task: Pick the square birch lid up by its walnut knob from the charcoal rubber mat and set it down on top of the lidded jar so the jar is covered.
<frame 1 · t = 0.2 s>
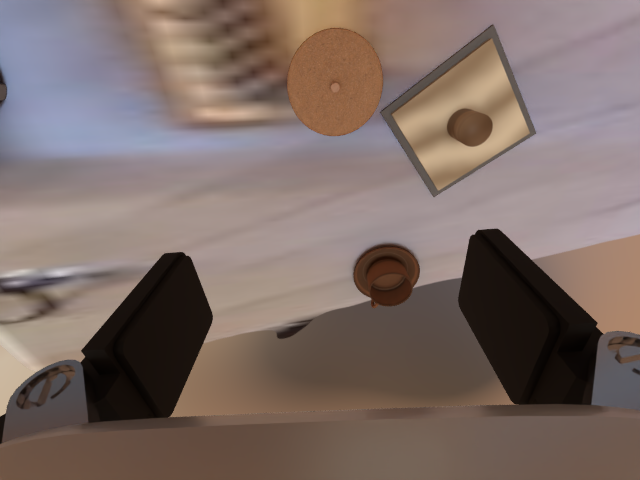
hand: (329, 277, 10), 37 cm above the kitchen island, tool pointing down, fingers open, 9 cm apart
rubber mat: (458, 122, 42), on the kitchen island
cup and saucer: (384, 268, 56), on the kitchen island
lidded jar: (333, 82, 40), on the kitchen island
birch lid: (459, 123, 42), resting on rubber mat
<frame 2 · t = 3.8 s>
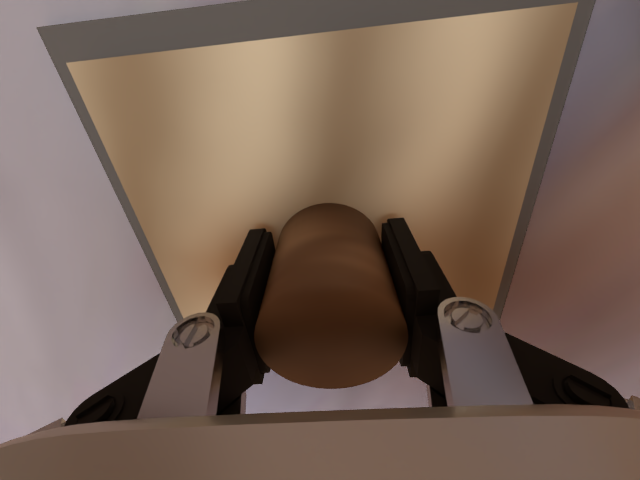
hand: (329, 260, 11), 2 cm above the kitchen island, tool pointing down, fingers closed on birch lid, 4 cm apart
rubber mat: (328, 234, 13), on the kitchen island
birch lid: (328, 239, 12), resting on rubber mat, touching gripper
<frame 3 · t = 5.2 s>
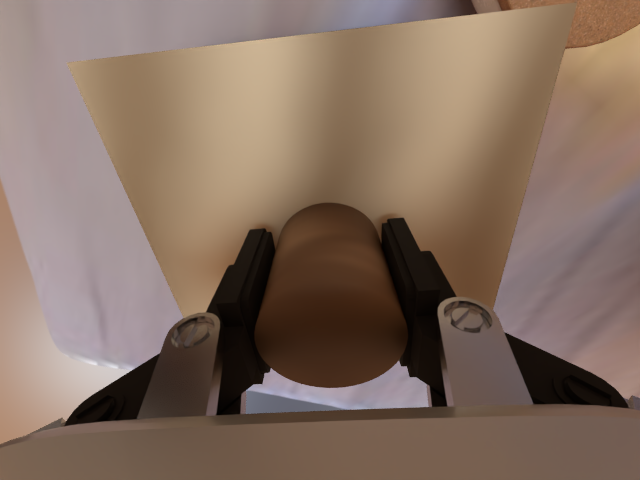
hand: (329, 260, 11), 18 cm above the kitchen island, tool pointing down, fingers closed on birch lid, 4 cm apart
birch lid: (328, 239, 12), point 16 cm above the kitchen island, touching gripper
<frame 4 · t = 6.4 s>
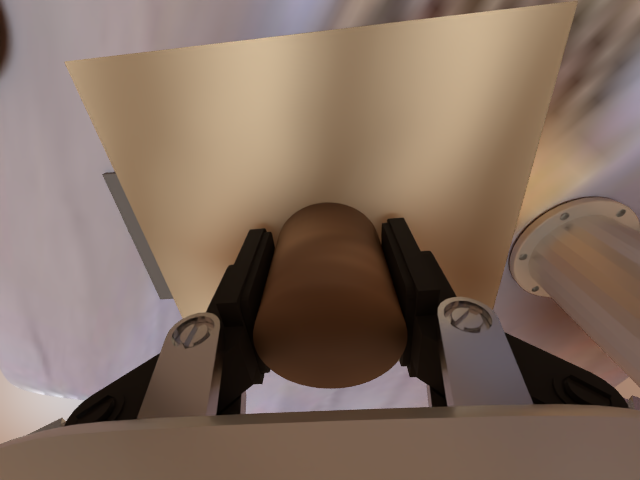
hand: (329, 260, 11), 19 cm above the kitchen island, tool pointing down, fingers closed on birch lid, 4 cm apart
rubber mat: (207, 238, 33), on the kitchen island
birch lid: (328, 239, 12), point 17 cm above the kitchen island, touching gripper
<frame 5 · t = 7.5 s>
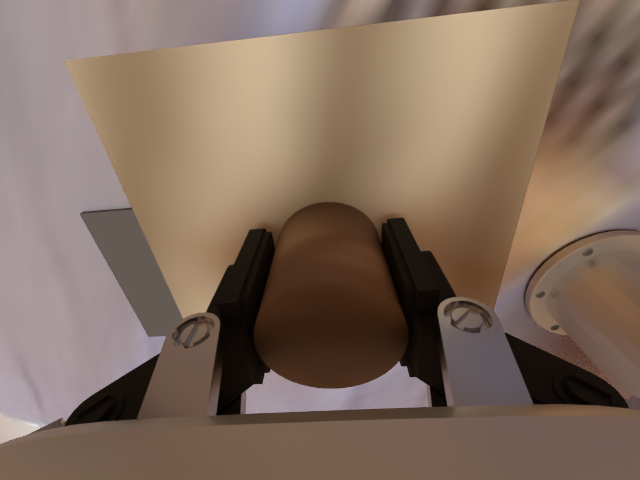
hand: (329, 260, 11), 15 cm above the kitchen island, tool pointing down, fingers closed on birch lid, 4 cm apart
rubber mat: (194, 276, 30), on the kitchen island
birch lid: (328, 238, 12), point 13 cm above the kitchen island, touching gripper
when the fingers open (12 cm above the kitchen island, at t = 8.3 s): birch lid stays where it is, resting on lidded jar.
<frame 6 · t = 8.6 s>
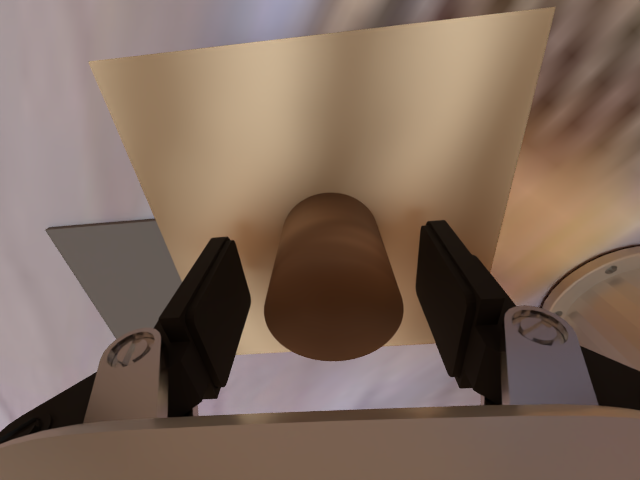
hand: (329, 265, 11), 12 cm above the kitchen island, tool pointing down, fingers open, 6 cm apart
rubber mat: (177, 295, 28), on the kitchen island
birch lid: (329, 228, 13), point 9 cm above the kitchen island, touching lidded jar
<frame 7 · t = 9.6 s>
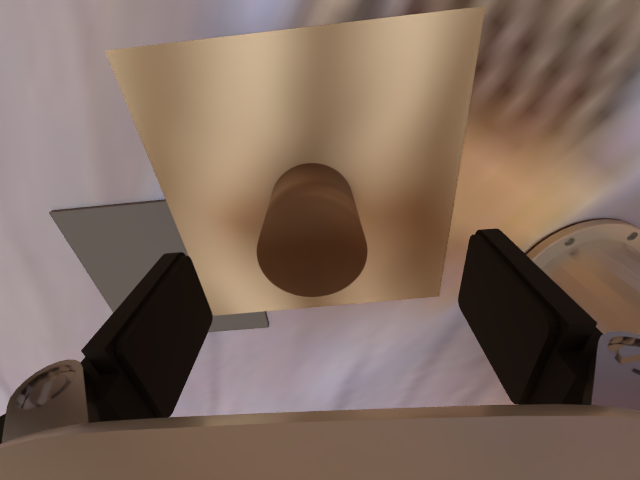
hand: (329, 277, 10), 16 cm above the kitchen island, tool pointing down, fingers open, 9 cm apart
rubber mat: (175, 275, 29), on the kitchen island
birch lid: (312, 196, 15), point 9 cm above the kitchen island, touching lidded jar
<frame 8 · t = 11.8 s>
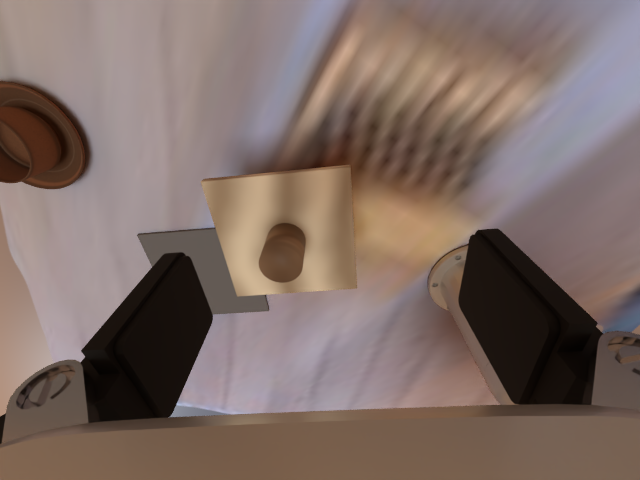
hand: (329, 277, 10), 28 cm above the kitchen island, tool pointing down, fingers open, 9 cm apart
rubber mat: (209, 274, 46), on the kitchen island
cup and saucer: (42, 136, 36), on the kitchen island
birch lid: (287, 236, 31), point 9 cm above the kitchen island, touching lidded jar
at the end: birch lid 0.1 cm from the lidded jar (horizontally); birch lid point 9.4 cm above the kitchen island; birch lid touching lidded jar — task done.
